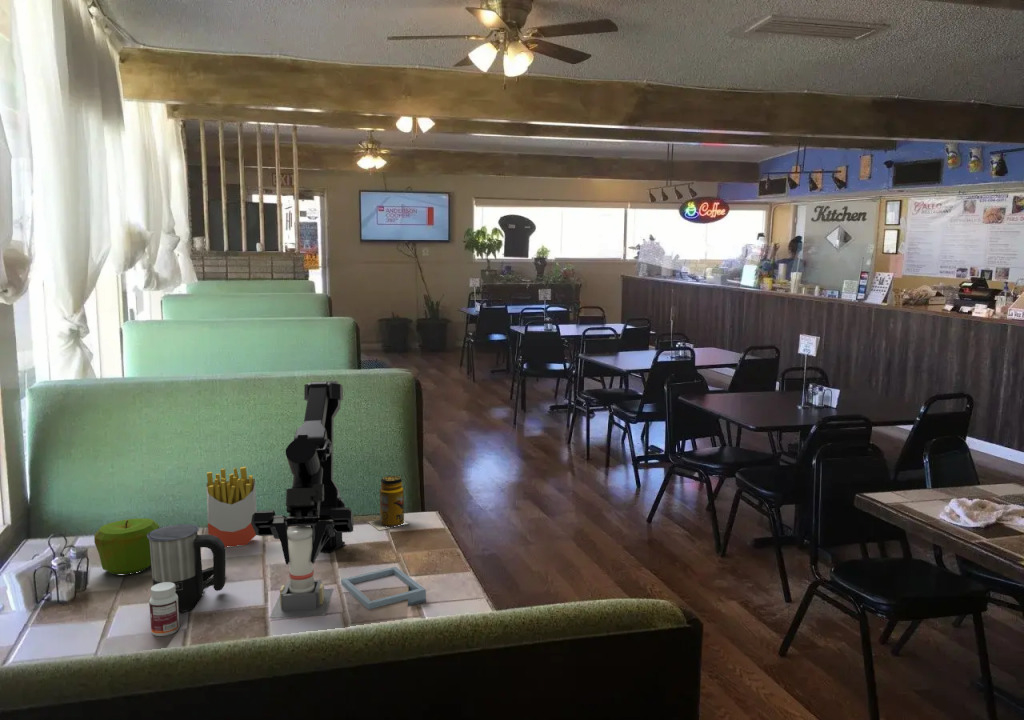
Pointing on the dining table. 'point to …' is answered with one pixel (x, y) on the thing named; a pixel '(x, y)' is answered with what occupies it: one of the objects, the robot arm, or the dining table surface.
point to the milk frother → (186, 562)
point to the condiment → (390, 503)
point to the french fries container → (231, 507)
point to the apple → (125, 545)
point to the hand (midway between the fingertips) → (299, 563)
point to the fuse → (300, 559)
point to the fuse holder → (302, 602)
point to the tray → (413, 595)
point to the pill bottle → (164, 609)
